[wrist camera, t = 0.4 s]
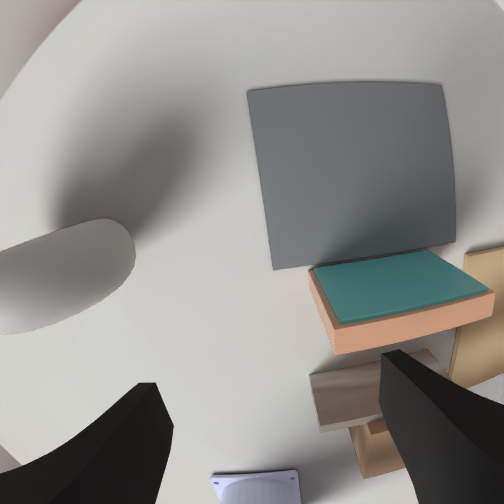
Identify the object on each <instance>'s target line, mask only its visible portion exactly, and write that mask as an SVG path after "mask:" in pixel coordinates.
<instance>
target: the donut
mask: <svg viewBox="0 0 504 504" xmlns="http://www.w3.org/2000/svg"><path fill="white" fill-rule="evenodd" d="M135 259H136V251H135V244H134V242H133V240H132V238H131V235H130V234H129V232H128V231H127V230H126V229H125V228H124V227H123V226H122V225H121V224H119V223H118V222H116V221H114V220H110V219H105V218H103V219H96V220H91V221H87V222H84V223H80V224H77V225H74V226H70V227H67V228H64V229H61V230H58V231H55V232H52V233H49V234H46V235H43V236H40V237H37V238H35V239H32V240H29V241H26V242H24V243H21V244H18V245H16V246H13V247H10V248H8V249H5V250H3V251H1V252H0V335H14V334H19V333H25V332H30V331H33V330H36V329H40V328H43V327H46V326H49V325H52V324H55V323H57V322H60V321H62V320H64V319H67V318H69V317H71V316H73V315H76V314H78V313H80V312H82V311H84V310H86V309H87V308H89V307H91V306H93V305H95V304H97V303H98V302H100V301H102V300H103V299H105V298H106V297H107V296H109V295H110V294H111V293H113V292H114V291H115V290H117V289H118V288H119V287H120V286H121V285H122V284H123V283H124V281H125V280H126V279H127V278H128V276H129V275H130V273H131V271H132V269H133V267H134V264H135Z"/></svg>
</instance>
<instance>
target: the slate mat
mask: <svg viewBox="0 0 504 504" xmlns="http://www.w3.org/2000/svg"><path fill="white" fill-rule="evenodd" d="M246 93H247V99H248V105H249V111H250V118H251V124H252V130H253V137H254V143H255V150H256V156H257V163H258V169H259V176H260V183H261V189H262V196H263V203H264V210H265V217H266V224H267V231H268V238H269V245H270V252H271V259H272V266H273V270H279V269H286V268H293V267H300V266H307V265H314V264H321V263H328V262H335V261H341V260H348V259H355V258H361V257H368V256H374V255H380V254H387V253H393V252H399V251H406V250H412V249H418V248H424V247H430V246H436V245H442V244H448V243H454V242H456V207H455V183H454V169H453V158H452V148H451V140H450V132H449V125H448V118H447V112H446V106H445V100H444V95H443V90H442V85H431V84H416V83H391V82H353V83H327V84H311V85H299V86H288V87H279V88H270V89H262V90H254V91H247V92H246Z"/></svg>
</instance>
